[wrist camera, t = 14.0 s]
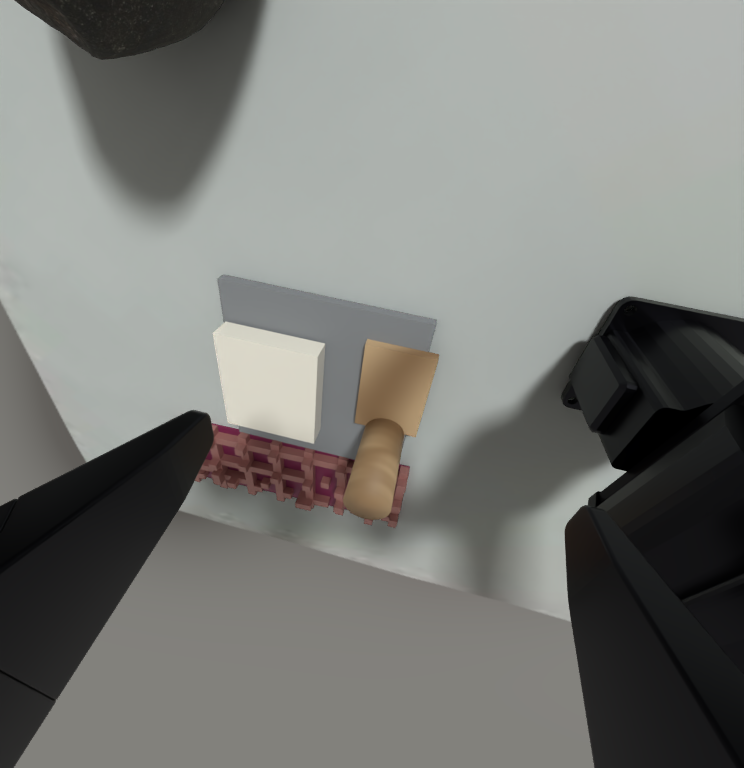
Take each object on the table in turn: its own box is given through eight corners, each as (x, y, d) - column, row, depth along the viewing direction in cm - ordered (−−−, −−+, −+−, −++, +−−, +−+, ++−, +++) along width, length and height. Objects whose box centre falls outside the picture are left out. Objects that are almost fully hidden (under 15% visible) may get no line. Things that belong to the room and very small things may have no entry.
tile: (317, 356, 19) (212, 333, 20) (313, 443, 24) (227, 422, 24) (326, 342, 21) (226, 320, 21) (321, 427, 25) (238, 408, 25)
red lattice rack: (175, 410, 29) (159, 427, 27) (410, 460, 27) (407, 482, 26) (194, 467, 33) (181, 484, 32) (397, 514, 32) (394, 535, 30)
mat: (436, 319, 19) (436, 325, 19) (397, 463, 27) (396, 470, 26) (223, 274, 20) (217, 278, 20) (243, 426, 28) (239, 431, 27)
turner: (438, 354, 20) (431, 431, 15) (411, 446, 24) (399, 527, 20) (367, 338, 20) (338, 409, 15) (354, 433, 25) (329, 509, 20)
